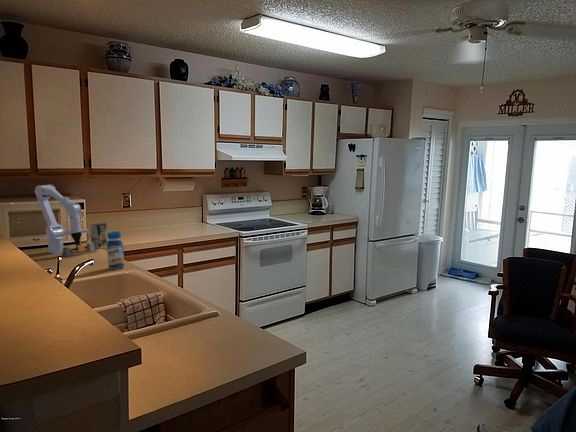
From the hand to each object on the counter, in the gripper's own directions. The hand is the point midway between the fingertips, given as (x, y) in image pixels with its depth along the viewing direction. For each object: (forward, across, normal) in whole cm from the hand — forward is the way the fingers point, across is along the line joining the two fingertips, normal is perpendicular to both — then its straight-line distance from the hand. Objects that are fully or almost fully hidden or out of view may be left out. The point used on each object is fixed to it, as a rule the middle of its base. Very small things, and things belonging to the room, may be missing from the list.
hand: (77, 244), depth 274 cm
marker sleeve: (+5, +2, 0) cm, 5 cm away
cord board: (+6, +1, 0) cm, 6 cm away
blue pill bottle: (+6, -4, -53) cm, 54 cm away
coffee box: (+6, +18, +7) cm, 21 cm away
